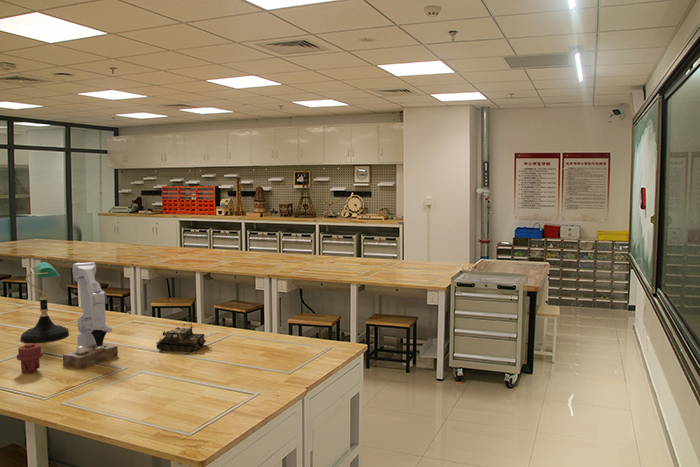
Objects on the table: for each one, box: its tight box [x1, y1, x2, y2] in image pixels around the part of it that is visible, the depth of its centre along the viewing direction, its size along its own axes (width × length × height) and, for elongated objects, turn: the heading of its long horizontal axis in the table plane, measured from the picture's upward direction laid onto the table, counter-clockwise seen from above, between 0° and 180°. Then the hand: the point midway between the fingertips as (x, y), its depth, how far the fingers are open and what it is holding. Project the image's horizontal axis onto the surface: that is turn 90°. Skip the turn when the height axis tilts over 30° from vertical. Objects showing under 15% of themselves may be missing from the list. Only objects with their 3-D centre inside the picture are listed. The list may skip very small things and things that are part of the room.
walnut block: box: [62, 343, 119, 370], centre depth 245 cm, size 12×20×5 cm, turn 156°
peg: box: [75, 345, 86, 355], centre depth 240 cm, size 4×4×5 cm
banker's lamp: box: [20, 262, 70, 344], centre depth 283 cm, size 26×23×40 cm
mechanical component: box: [15, 343, 44, 375], centre depth 229 cm, size 12×10×10 cm
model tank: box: [155, 322, 207, 353], centre depth 265 cm, size 13×22×15 cm, turn 85°
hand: (99, 345), depth 249 cm, fingers closed
